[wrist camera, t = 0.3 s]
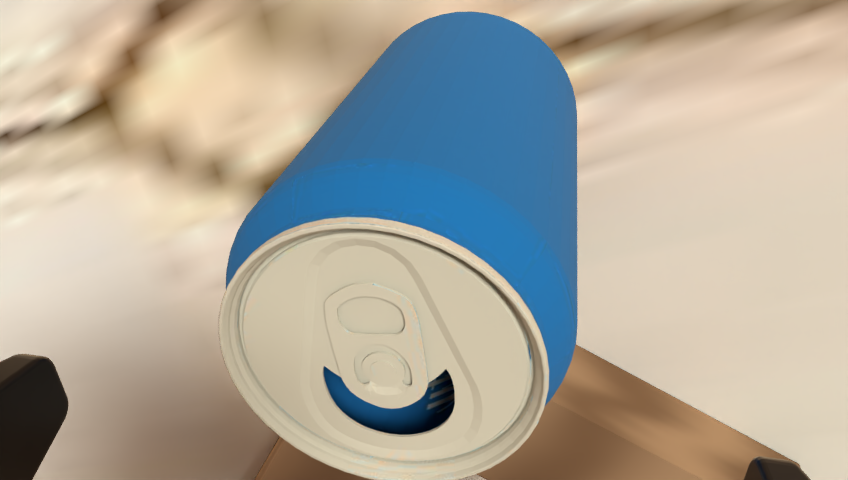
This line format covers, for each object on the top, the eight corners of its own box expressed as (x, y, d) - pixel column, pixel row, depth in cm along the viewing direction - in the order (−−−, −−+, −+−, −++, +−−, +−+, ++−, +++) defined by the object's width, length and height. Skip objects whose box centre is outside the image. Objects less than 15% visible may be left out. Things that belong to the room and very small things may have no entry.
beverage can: (389, 204, 23) (251, 488, 13) (355, 16, 20) (138, 204, 10) (579, 198, 22) (581, 512, 12) (574, -6, 19) (572, 190, 9)
